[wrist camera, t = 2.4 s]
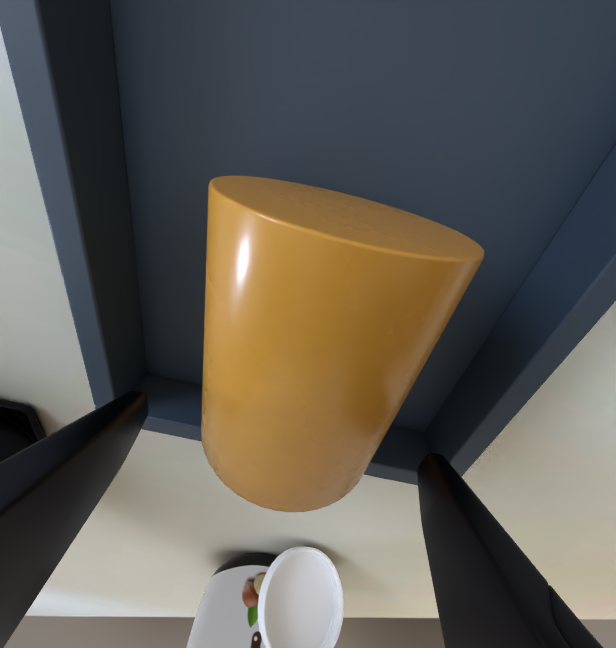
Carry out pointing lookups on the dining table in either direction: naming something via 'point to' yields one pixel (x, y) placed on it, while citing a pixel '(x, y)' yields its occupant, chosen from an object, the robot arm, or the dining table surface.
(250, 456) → the tapered yellow cylinder
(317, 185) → the blue tray
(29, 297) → the dining table surface
